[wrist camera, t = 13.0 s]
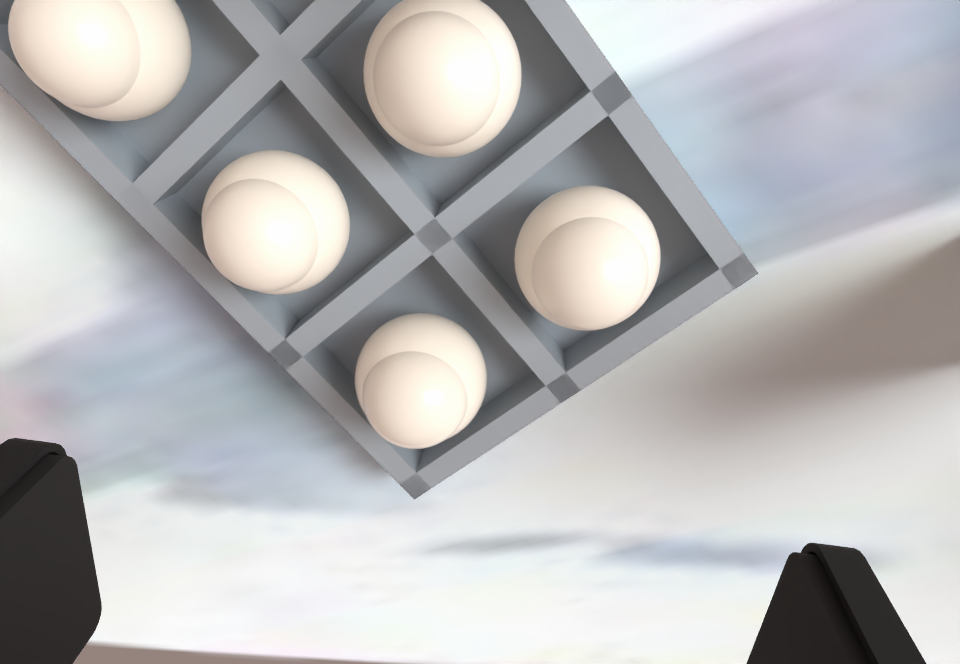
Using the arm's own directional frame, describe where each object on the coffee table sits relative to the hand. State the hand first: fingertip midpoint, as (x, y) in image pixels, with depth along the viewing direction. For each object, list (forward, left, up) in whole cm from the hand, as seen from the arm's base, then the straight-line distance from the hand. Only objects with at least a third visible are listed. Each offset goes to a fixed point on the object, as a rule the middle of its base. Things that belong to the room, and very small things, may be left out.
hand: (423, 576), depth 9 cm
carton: (-5, -2, -21) cm, 22 cm away
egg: (+3, -6, -20) cm, 21 cm away
